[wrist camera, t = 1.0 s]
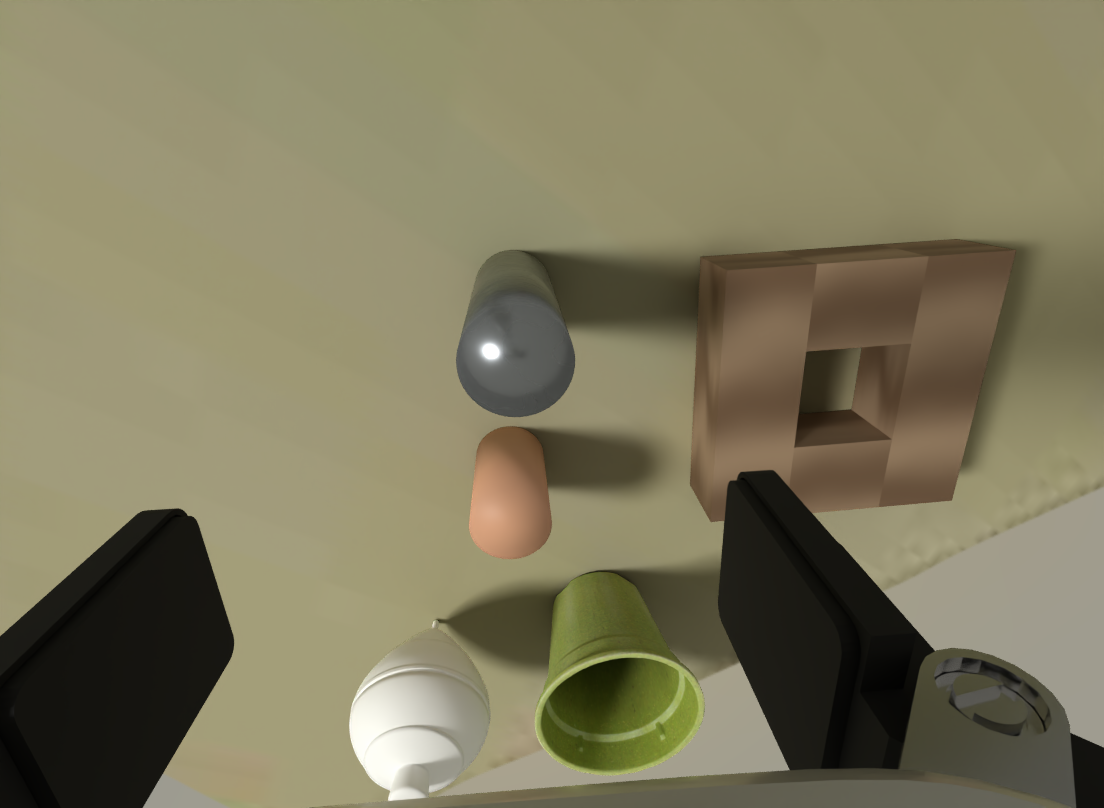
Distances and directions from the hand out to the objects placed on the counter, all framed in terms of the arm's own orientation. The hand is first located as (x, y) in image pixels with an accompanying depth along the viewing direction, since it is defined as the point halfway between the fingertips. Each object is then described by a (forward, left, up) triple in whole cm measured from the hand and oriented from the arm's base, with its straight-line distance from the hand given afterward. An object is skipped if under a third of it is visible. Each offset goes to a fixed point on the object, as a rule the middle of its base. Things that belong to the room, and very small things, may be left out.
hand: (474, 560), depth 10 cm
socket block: (+6, +18, -22) cm, 29 cm away
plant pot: (+22, +5, -22) cm, 32 cm away
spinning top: (+22, -6, -22) cm, 32 cm away
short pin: (+10, 0, -22) cm, 24 cm away
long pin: (0, +1, -22) cm, 22 cm away
